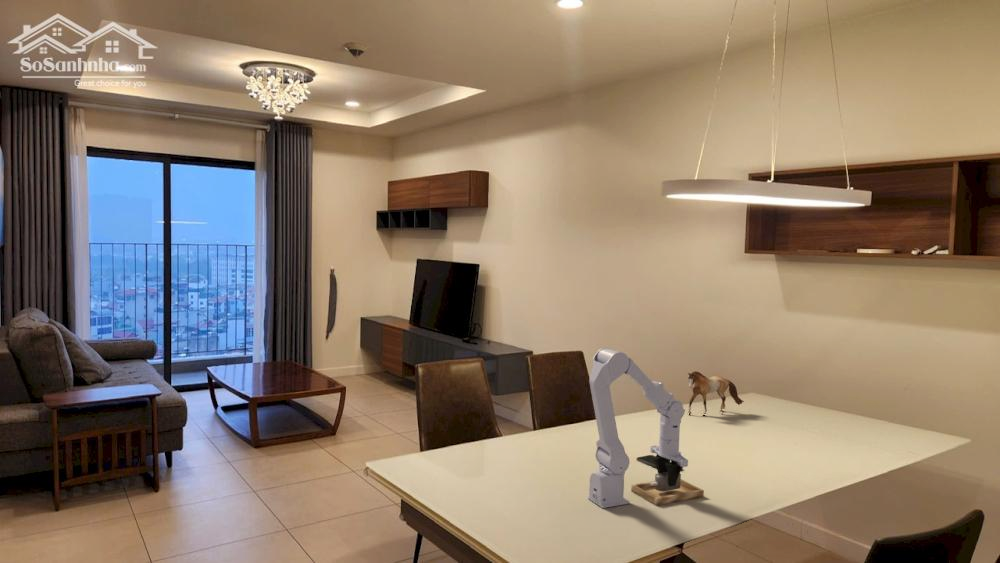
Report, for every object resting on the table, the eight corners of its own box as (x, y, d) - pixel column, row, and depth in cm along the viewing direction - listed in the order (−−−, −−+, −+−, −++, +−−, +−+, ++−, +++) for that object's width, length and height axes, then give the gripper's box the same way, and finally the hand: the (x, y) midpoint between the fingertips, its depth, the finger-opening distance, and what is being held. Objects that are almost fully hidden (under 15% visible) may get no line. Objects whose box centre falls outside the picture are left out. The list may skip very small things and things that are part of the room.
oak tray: (656, 505, 178) (656, 498, 178) (631, 491, 188) (631, 484, 188) (703, 497, 185) (703, 490, 185) (677, 483, 196) (677, 477, 196)
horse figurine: (688, 418, 275) (690, 372, 274) (677, 414, 282) (679, 369, 281) (744, 414, 286) (746, 369, 285) (732, 409, 294) (734, 366, 293)
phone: (667, 471, 205) (635, 457, 218) (667, 474, 205) (635, 461, 218) (684, 467, 209) (651, 454, 222) (683, 470, 209) (651, 457, 222)
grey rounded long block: (654, 492, 183) (655, 479, 182) (646, 488, 186) (647, 475, 186) (682, 487, 187) (683, 474, 187) (674, 483, 190) (675, 470, 190)
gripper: (696, 443, 181) (694, 489, 182) (663, 430, 194) (662, 473, 195) (677, 446, 178) (675, 493, 179) (645, 432, 191) (644, 476, 192)
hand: (667, 483), depth 187 cm, fingers closed on grey rounded long block, 3 cm apart
